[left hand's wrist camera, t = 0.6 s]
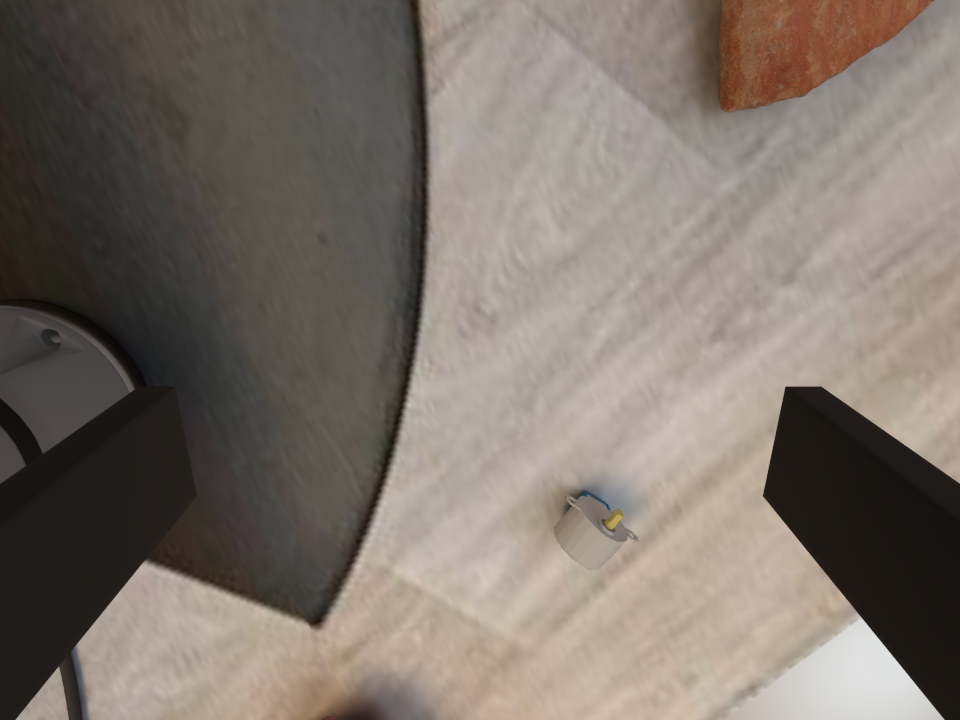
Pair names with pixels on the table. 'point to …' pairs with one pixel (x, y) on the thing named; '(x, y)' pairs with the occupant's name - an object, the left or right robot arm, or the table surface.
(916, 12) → the ceramic shard
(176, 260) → the table surface
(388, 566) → the table surface
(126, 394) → the right robot arm
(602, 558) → the electric motor
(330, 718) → the fabric sculpture
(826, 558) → the left robot arm
